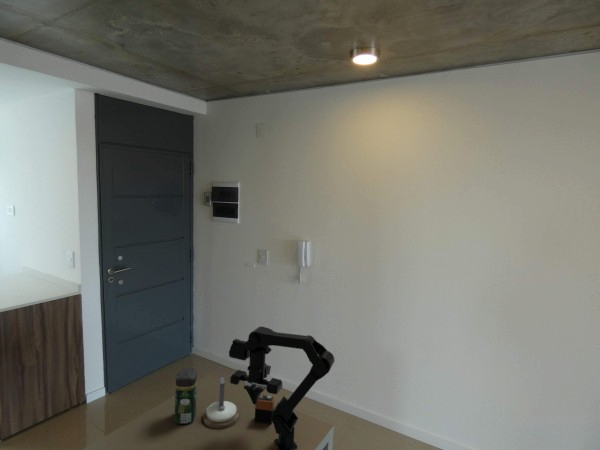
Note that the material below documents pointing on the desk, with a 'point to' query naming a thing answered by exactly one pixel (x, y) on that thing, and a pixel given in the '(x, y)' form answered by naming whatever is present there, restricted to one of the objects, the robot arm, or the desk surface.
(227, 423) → the dial base
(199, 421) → the desk surface
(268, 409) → the battery
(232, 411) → the dial
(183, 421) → the coffee jar
